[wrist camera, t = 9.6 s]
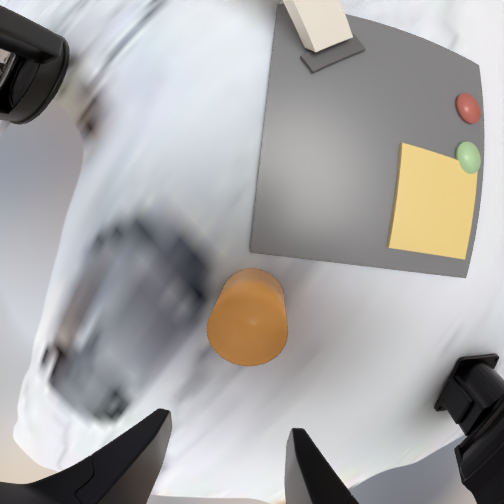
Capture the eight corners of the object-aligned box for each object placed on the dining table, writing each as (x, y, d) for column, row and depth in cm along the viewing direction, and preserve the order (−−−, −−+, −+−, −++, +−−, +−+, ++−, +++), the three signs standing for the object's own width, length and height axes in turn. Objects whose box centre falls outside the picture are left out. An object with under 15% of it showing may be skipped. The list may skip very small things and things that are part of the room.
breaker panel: (473, 67, 14) (482, 63, 13) (460, 275, 19) (469, 279, 17) (277, 9, 15) (277, 0, 14) (250, 249, 19) (249, 253, 18)
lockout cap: (288, 272, 20) (293, 301, 15) (279, 329, 21) (281, 369, 16) (223, 264, 20) (208, 290, 15) (219, 322, 21) (205, 360, 16)
